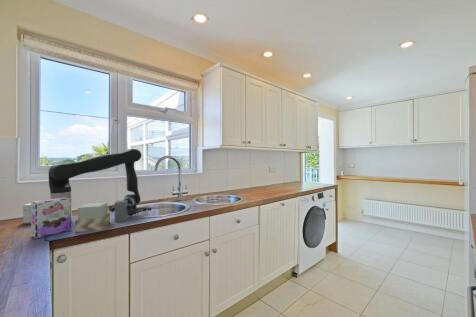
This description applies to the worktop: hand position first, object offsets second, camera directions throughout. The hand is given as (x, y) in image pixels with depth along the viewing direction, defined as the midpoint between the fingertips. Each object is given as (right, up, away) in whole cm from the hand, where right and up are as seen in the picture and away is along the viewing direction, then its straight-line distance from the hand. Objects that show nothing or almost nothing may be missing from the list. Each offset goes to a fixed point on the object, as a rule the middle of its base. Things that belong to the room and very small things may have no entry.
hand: (120, 209), depth 126 cm
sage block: (-8, -1, -11) cm, 14 cm away
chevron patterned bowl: (-8, -7, -10) cm, 15 cm away
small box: (-50, -7, 0) cm, 50 cm away
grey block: (0, -6, +2) cm, 7 cm away
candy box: (-23, -7, -20) cm, 31 cm away
